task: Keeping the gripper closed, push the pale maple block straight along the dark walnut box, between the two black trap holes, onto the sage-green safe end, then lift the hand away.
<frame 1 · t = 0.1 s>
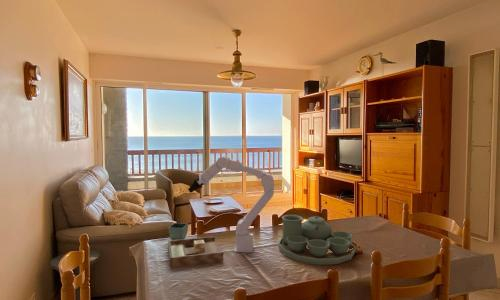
hand: (191, 189, 166), 32 cm above the table, tool tilted 50°, fingers open, 7 cm apart
walnut box: (195, 254, 159), on the table
flower pot: (178, 240, 179), on the table
tea set: (316, 250, 167), on the table
maple block: (199, 249, 160), point 2 cm above the table, touching walnut box
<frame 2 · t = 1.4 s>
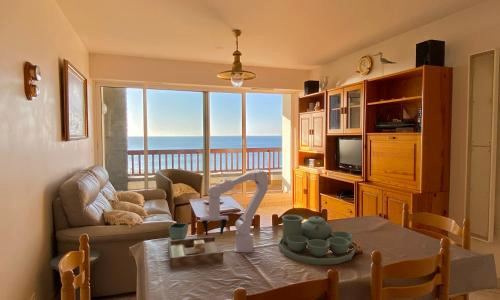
hand: (214, 234, 161), 10 cm above the table, tool pointing down, fingers open, 7 cm apart
nothing on the table moved.
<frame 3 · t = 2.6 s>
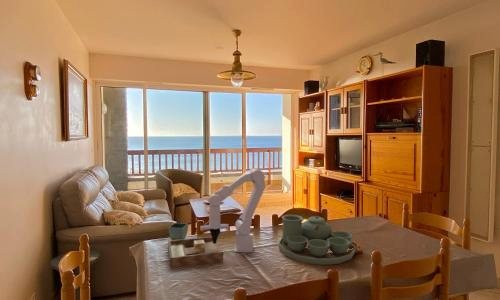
hand: (214, 242, 162), 5 cm above the table, tool pointing down, fingers closed
nothing on the table moved.
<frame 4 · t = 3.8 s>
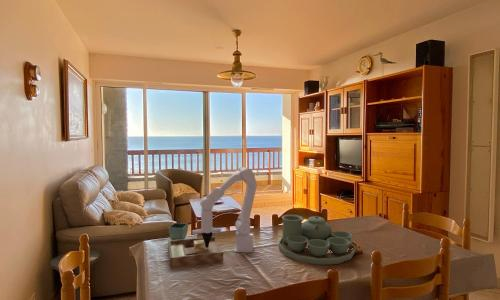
hand: (206, 246, 161), 3 cm above the table, tool pointing down, fingers closed
maple block: (199, 249, 159), point 3 cm above the table, touching gripper
everything else where it was.
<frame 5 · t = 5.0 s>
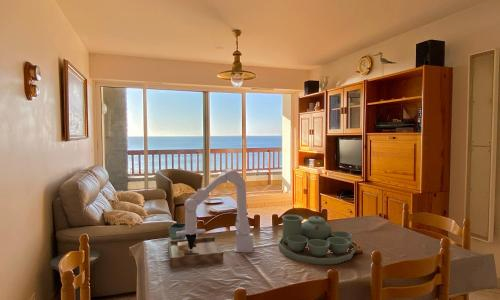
hand: (191, 248, 158), 3 cm above the table, tool pointing down, fingers closed
maple block: (183, 251, 157), point 3 cm above the table, touching gripper
everything else where it was.
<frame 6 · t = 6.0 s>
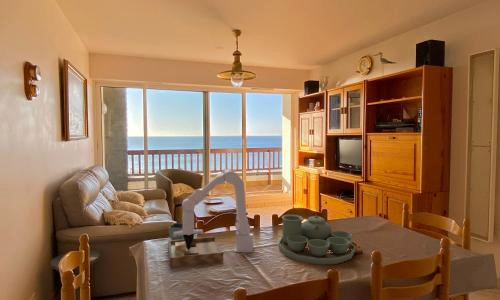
hand: (188, 248, 158), 3 cm above the table, tool pointing down, fingers closed
maple block: (180, 251, 157), point 2 cm above the table, touching gripper, walnut box
everything else where it was.
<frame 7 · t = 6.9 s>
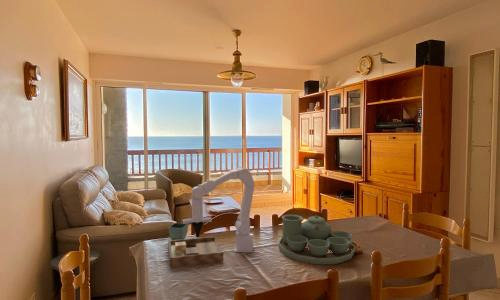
hand: (197, 236, 159), 9 cm above the table, tool pointing down, fingers closed
maple block: (180, 251, 157), point 2 cm above the table, touching walnut box
everything else where it was.
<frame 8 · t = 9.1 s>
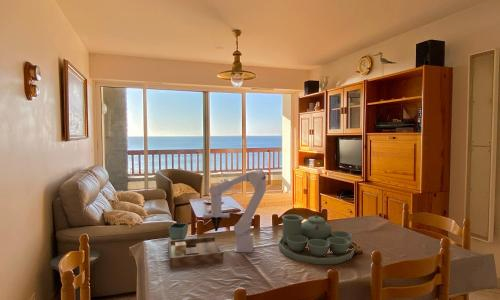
hand: (216, 230, 172), 8 cm above the table, tool pointing down, fingers closed
nothing on the table moved.
at the end: maple block 1.2 cm from the target spot, point 2.5 cm above the table; maple block tilted 0° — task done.
